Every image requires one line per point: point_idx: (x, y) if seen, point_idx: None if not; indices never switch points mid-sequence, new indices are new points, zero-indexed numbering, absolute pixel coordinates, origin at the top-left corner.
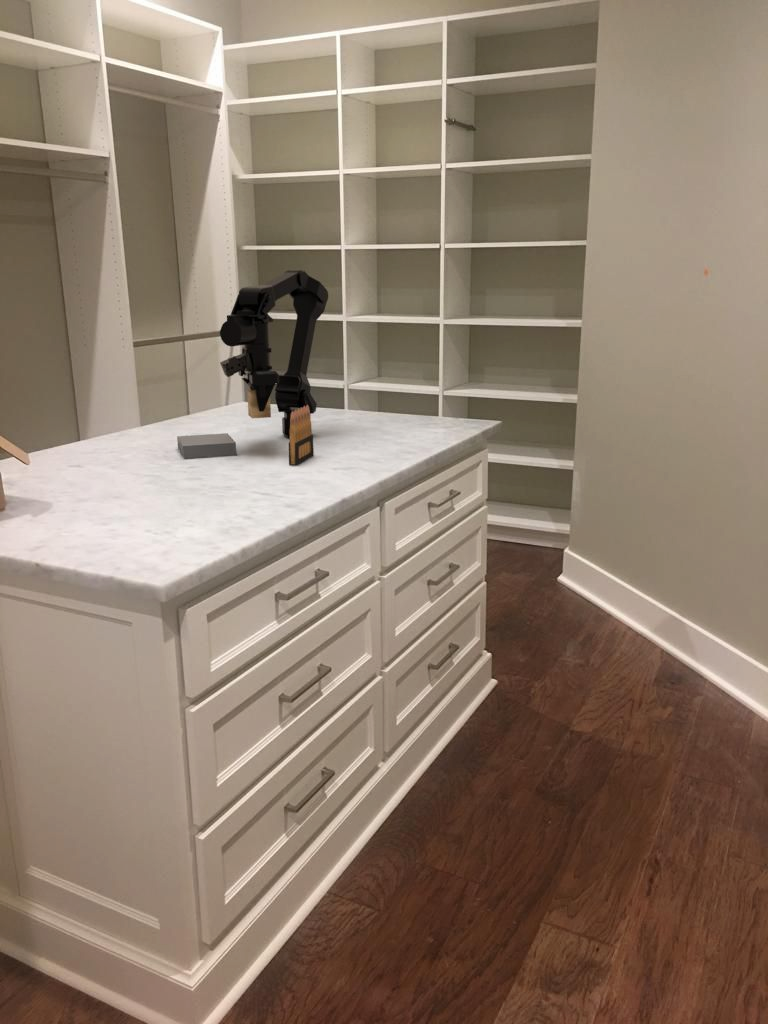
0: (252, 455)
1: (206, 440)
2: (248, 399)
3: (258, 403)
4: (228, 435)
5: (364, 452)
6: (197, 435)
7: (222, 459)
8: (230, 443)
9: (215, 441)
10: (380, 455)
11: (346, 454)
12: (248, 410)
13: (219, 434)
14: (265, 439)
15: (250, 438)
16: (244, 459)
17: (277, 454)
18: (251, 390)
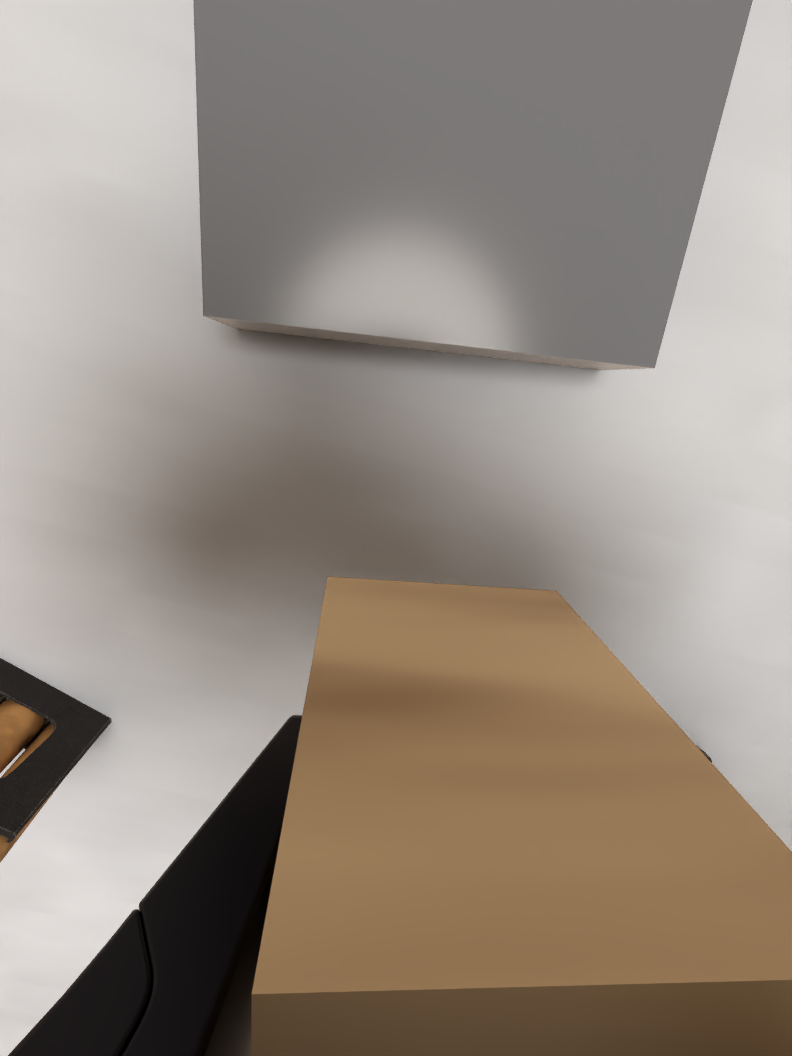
0: (200, 437)
1: (414, 34)
2: (622, 744)
3: (222, 808)
4: (550, 346)
5: (108, 939)
6: (723, 21)
7: (120, 171)
8: (204, 260)
9: (324, 123)
10: (24, 972)
11: (82, 874)
12: (567, 621)
13: (639, 278)
14: (636, 636)
15: (717, 567)
16: (79, 344)
17: (183, 589)
18: (772, 1050)
